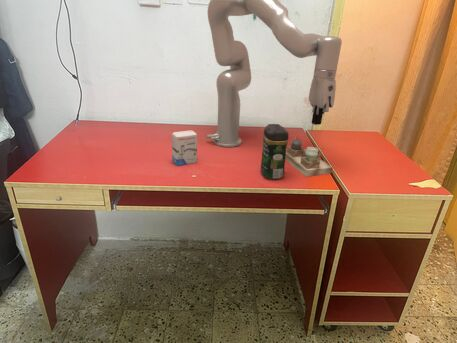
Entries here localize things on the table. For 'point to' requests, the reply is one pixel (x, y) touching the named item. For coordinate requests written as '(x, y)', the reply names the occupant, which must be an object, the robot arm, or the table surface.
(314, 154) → the sage button
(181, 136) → the ink box
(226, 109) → the robot arm
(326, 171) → the switch board
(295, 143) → the charcoal button
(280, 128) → the coffee jar
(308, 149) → the white button
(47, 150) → the table surface
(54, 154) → the table surface
